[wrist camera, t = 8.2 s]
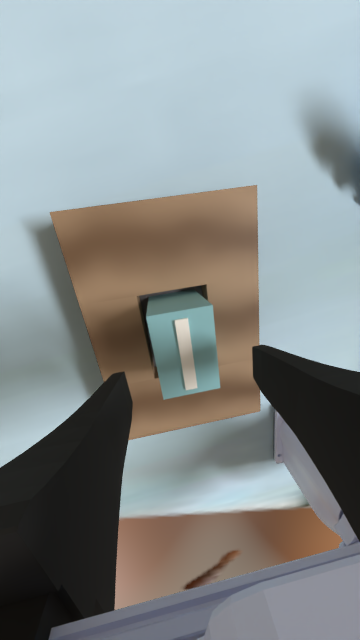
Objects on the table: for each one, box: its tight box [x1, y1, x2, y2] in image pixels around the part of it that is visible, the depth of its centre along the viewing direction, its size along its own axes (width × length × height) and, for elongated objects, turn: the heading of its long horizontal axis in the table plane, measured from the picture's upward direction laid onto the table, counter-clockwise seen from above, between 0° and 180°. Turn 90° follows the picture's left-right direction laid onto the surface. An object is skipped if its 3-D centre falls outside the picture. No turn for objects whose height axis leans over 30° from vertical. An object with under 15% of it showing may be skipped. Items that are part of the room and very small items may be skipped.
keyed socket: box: [50, 185, 260, 440], centre depth 18 cm, size 20×14×2 cm
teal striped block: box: [146, 289, 220, 400], centre depth 15 cm, size 6×4×6 cm, turn 8°
